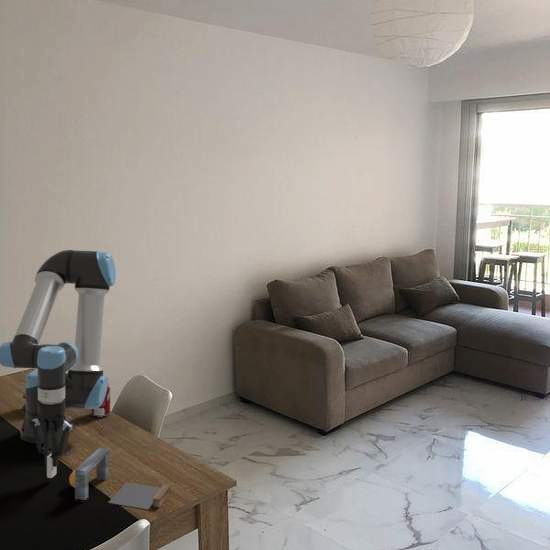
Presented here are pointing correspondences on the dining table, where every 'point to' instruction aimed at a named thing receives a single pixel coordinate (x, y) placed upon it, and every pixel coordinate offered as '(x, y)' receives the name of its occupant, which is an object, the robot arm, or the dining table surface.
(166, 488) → the stopper wall
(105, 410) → the soda can
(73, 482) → the ball
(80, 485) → the bridge
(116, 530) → the dining table surface
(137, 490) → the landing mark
